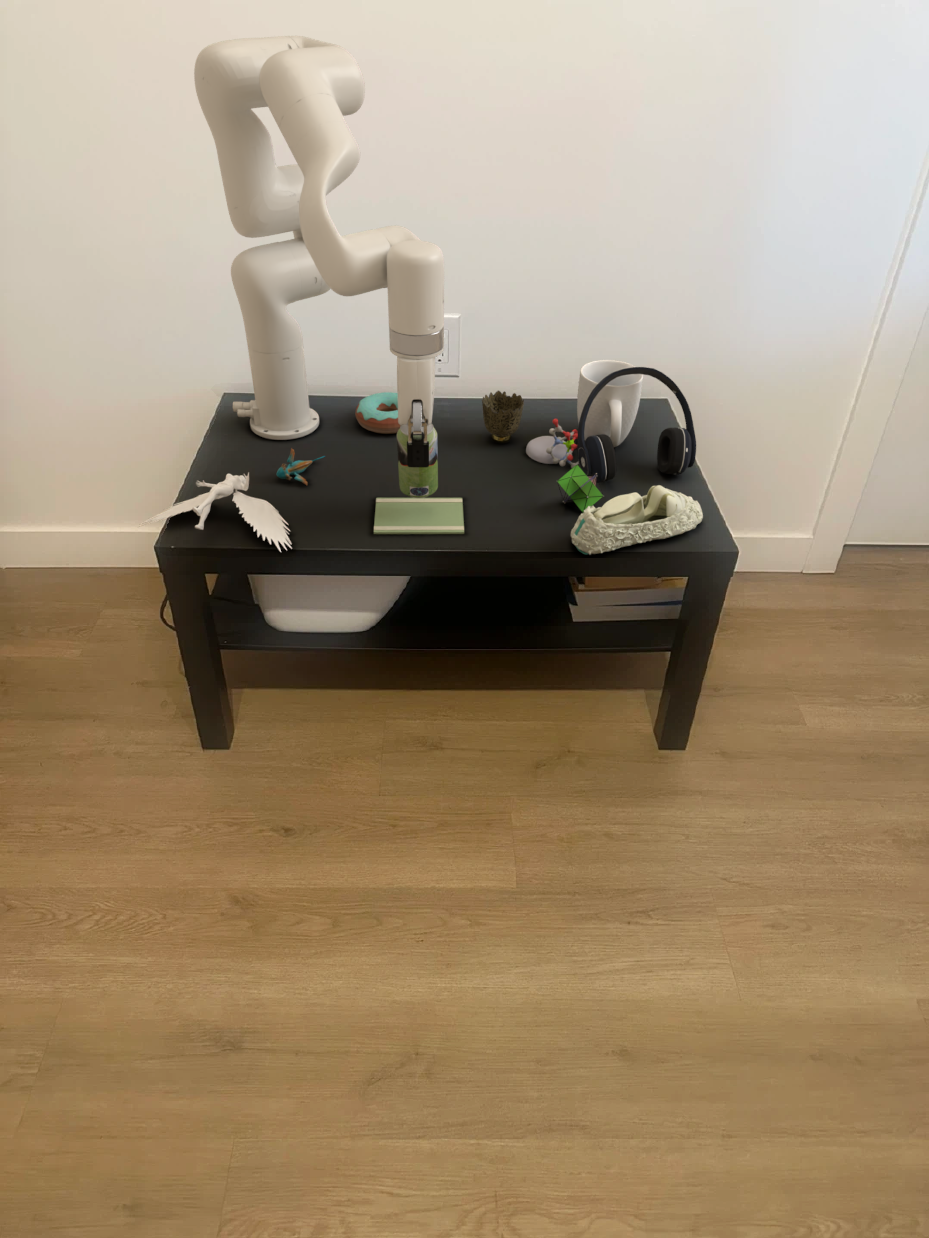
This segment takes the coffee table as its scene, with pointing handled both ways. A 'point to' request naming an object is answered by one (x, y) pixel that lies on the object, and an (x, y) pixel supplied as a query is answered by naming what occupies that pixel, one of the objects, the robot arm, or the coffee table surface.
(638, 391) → the mug
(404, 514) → the towel mat
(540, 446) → the white pebble
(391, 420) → the donut
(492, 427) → the cup
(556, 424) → the molecular model
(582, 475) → the green polyhedron model
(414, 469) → the beverage can
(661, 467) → the earphone
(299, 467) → the dragon figurine
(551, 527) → the coffee table surface
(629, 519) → the ballet flat
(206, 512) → the figurine
